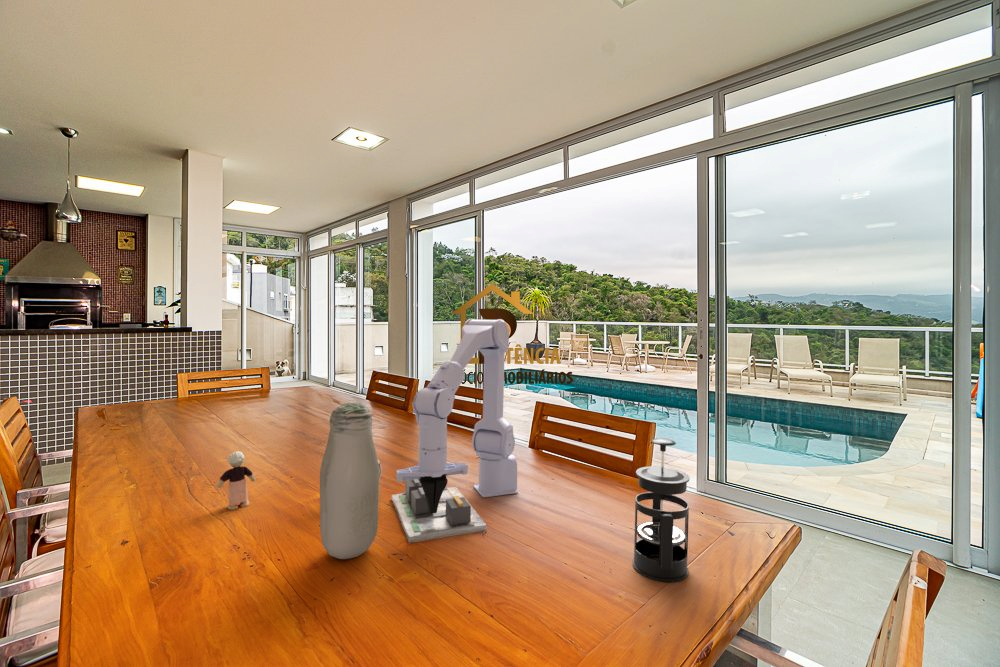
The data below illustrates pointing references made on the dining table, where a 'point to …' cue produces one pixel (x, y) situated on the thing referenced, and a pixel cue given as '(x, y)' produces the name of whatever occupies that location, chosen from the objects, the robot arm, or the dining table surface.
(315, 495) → the dining table surface
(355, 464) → the glass bottle
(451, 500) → the block
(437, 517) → the breaker panel
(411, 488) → the breaker
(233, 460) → the grandmother figurine
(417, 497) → the breaker
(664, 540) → the french press
